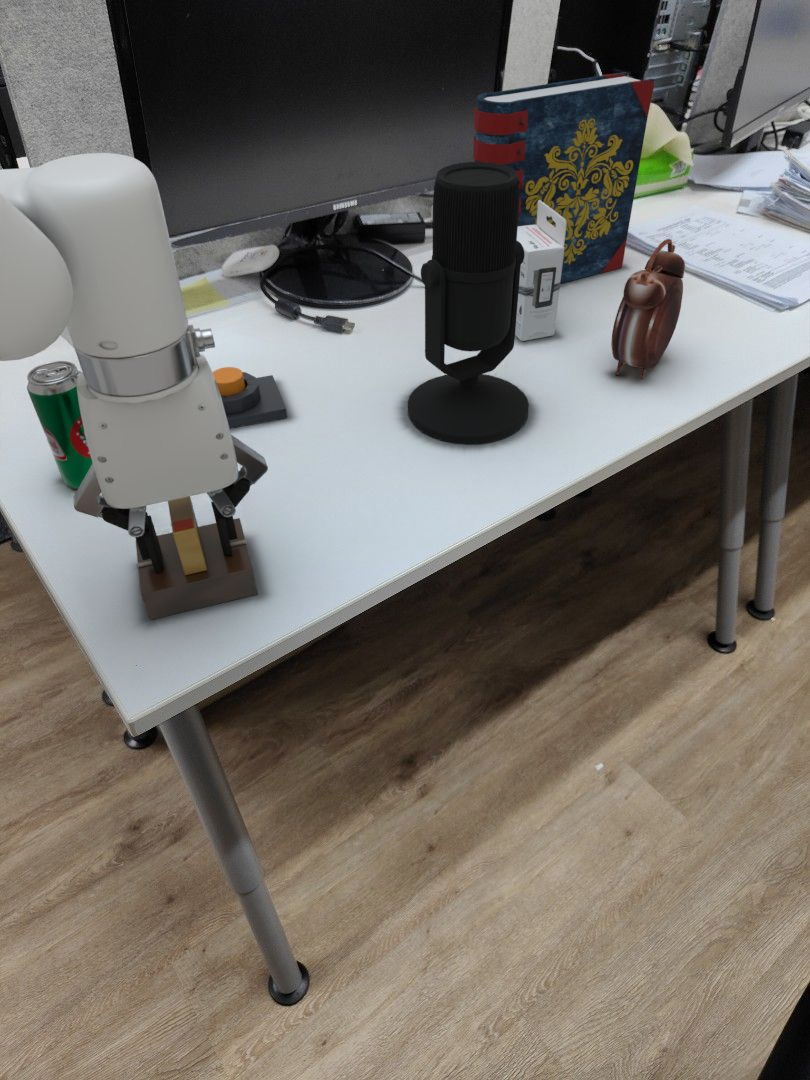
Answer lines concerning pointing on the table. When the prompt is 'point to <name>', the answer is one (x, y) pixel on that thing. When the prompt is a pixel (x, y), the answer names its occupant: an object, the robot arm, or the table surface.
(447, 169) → the microphone
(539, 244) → the ink box
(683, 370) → the table surface
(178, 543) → the lock knob
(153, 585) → the plate
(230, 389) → the bell button
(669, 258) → the alarm clock
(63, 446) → the soda can
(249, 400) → the block
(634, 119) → the book
